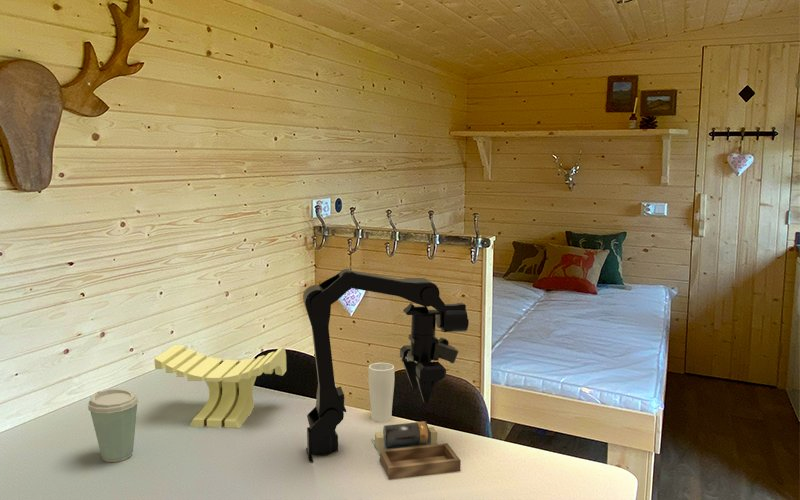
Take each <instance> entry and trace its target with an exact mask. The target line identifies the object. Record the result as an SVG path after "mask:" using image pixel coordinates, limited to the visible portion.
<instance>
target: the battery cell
mask: <svg viewBox="0 0 800 500" xmlns="http://www.w3.org/2000/svg"><path fill="white" fill-rule="evenodd" d="M382 428H383V429H382V435H383V437H384V444H385V446H386V447H395V446H404V445H413V444H424V443H428V442H429V429H428V428H429V425H428V423H427V421H426V420H425V421H416V422H406V423H397V424H395V423H394V424H388V425H383V427H382Z"/></svg>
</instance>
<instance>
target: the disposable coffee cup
mask: <svg viewBox="0 0 800 500" xmlns="http://www.w3.org/2000/svg"><path fill="white" fill-rule="evenodd" d="M138 403H139V399H138V396H137V394H136V393H135V392H134V391H132V390H131V389H128V388H119V387H117V388H116V387H115V388H106V389H103V390H99V391H97V392H95V393H93V394H92V395H91V396H90V400H89V401H88V405H87V409H88V411H89V412H90V415H91V420H92V423H93V427H94V432H95V436H96V440H97V444H98V448H99V452H100V455H101V458H102V460H103V461H104V462H106V463H117V462H118V463H119V462H123V461H125V460H128V459H129V458H130V457H131V456H133V452H134V445H135V433H136V422H137V412H138Z"/></svg>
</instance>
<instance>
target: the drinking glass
mask: <svg viewBox="0 0 800 500" xmlns="http://www.w3.org/2000/svg"><path fill="white" fill-rule="evenodd" d="M394 389H395V365H393V364H392V363H388V362H375V363H371V364H370V365H368V390H369V401H370V404H369V405H370V413H371V414H370V415H371V416H370V417H371V419H372V421H374V422H381V423H382V422H389V421H391V419H393V417H392V416H393V415H392V414H393V413H392V411H393V401H394V393H395V392H394Z"/></svg>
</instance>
